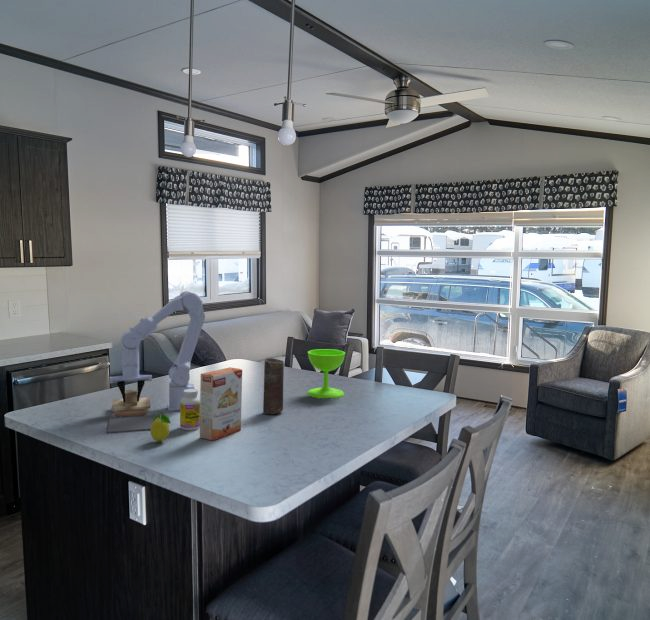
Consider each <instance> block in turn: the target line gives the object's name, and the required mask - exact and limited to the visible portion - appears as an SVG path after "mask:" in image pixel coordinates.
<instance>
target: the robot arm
mask: <svg viewBox="0 0 650 620" xmlns="http://www.w3.org/2000/svg"><path fill="white" fill-rule="evenodd" d="M184 310H185V311H186V312H187V314H188V316H189V318H190V319H189V323H188V325H187V329H186V331H185V333H184V337H183V340H182V343H181V345H180V346H181V347H180V349H179V352H178V356H177V357H176V359H175V361H174V363H173V365H172V366H171V367H170V368H169V370H168V376H169V378H170V382H169V383H168V397H169V398H168V402H169V403H168V404H167V409H168V411H169V412H170V411H171V412H172V411H180V401H181V399H182V398H183V397H184V394H183V391H184V390H186V389H195V384H194V383H189V381H190V378H191V377H190V370H191V362H192V358H193V356H194V352H195V350H196V348H197V347H196V346H197V344H198V340H199V337H200V334H201V332H202V329H203V328H202V327H203V326H204V321H206V314H205V310H204V307H203V301H202V299H201V298H200V296H199V295H198V294H197V293H195V292H191V291H187V290H186V291H183V292H181V293H180V294H179V295H177V296H175V297H174V298H172V299H171V300H170V301H169V302H168V303H167V304H165V305H164V306H163V307H162V308H161V309H159V310H158V311H157V312H155V314H154V315H153V316H150V317H149V316H147V317H142V318H140V320H139V322H138V323H137V324H135V325H134V326H133V327H130V328H129V331H126V332H124V333H123V334H122V336H121V339H120V341H121V343H122V352H121V354H122V355H121V359H122V375H117V376H109V384H115V383H117V385H116V386H117V387H118V390H119V391H120V394H121V396H122V399H123V402H125V392H126V383H132V382H133V383H134V382H137V383H136V384H137V388H136V389H137V402H138V401H139V398H141V393H142V391H143V388H144V386H145V382H153V375H152V374H140V351H139V346H140V344H141V341H144V340H145V339H146V338H147V337H149V336H150V335H151V334H152V333H154V332H155V331H156V330H157V329H158V324H160V323H161V322H162V321H163V320H164V319H166V318H168V317H169V316H170V315H171V314H173V313H175V312H178V311H184Z"/></svg>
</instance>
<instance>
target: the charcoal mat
mask: <svg viewBox="0 0 650 620" xmlns="http://www.w3.org/2000/svg"><path fill="white" fill-rule="evenodd" d="M156 415H157V414H144V415H141V416H128V417H120V416H115V417H109V419H108V420H109V421H108V426H107V434H115V433H128V432H140V431H141V432H143V431H151V426H152V424H153V422H154V421H155V420H156V419H158V418H159V417H158V418H156V419H155V420H154V421H153V419H154V417H155V416H156Z"/></svg>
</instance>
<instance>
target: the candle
mask: <svg viewBox="0 0 650 620" xmlns="http://www.w3.org/2000/svg"><path fill="white" fill-rule="evenodd" d="M284 363H285V362H284V361H283V360H281V359H278V358H277V359H276V358H274V357H273V358H272V357H270V358H265V359H264V368H263V369H264V372H263V373H264V375H263V401H262V402H263V404H262V405H263V406H262V411H263V412H262V413H263V414H266V415H268V414H271V415H275V414H280V413H281V412H283V411H284V377H285V376H284V370H285V368H284V367H285V364H284Z"/></svg>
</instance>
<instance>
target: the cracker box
mask: <svg viewBox="0 0 650 620" xmlns="http://www.w3.org/2000/svg"><path fill="white" fill-rule="evenodd" d="M199 387H200V389H199V390H200V392H199V393H200V395H199V396H200V397H199V398H200V428H199V438H201V439H205V440H208V441H215V440H217V439H220V438H223V437H226V436H229V435H231V434H234V433H237V432H239V431H241V430H242V402H243V401H242V400H243V399H242V396H243V395H242V393H243V391H242V390H243V369H242V368H235V367H232V366H231V367H226V368H221V369H217V370H211V371H207V372H203V373H200V385H199Z"/></svg>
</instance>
